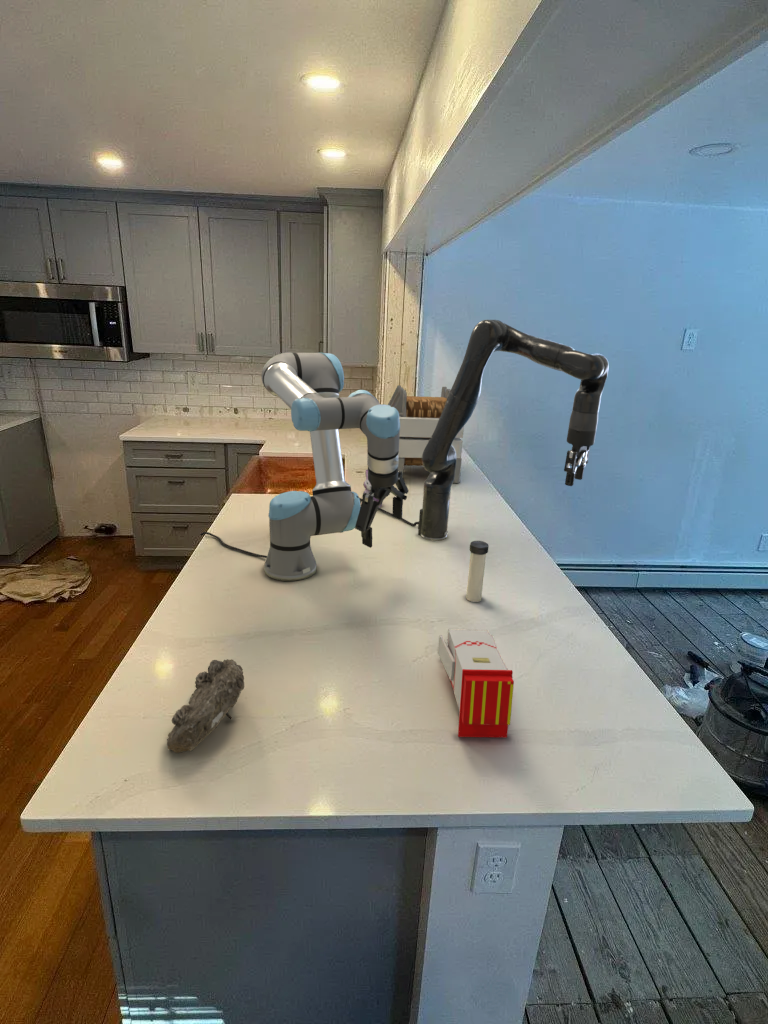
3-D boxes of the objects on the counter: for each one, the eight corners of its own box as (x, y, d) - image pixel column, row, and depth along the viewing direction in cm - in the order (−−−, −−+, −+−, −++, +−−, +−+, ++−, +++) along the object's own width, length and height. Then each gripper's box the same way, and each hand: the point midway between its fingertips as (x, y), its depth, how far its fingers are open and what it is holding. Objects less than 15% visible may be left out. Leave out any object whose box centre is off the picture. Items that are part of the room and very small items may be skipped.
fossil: (192, 660, 117) (244, 628, 112) (224, 691, 120) (276, 661, 115) (142, 746, 98) (202, 712, 93) (182, 779, 101) (242, 748, 96)
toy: (488, 613, 130) (523, 677, 101) (484, 667, 133) (517, 744, 104) (435, 612, 130) (455, 676, 101) (432, 666, 133) (451, 743, 103)
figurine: (367, 511, 220) (368, 474, 215) (356, 503, 228) (357, 467, 223) (388, 508, 224) (390, 471, 219) (377, 500, 233) (378, 465, 228)
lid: (465, 549, 153) (466, 542, 152) (478, 545, 156) (479, 539, 155) (478, 556, 149) (479, 549, 148) (491, 552, 152) (492, 545, 151)
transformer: (382, 463, 289) (386, 382, 275) (445, 464, 293) (451, 384, 279) (390, 482, 257) (394, 392, 243) (460, 483, 261) (468, 394, 247)
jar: (462, 597, 158) (468, 544, 152) (473, 593, 160) (479, 541, 155) (473, 603, 155) (479, 550, 149) (484, 599, 157) (490, 546, 152)
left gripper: (364, 498, 129) (365, 563, 142) (423, 448, 144) (419, 511, 158) (338, 486, 132) (342, 551, 146) (399, 438, 147) (397, 501, 161)
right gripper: (577, 422, 167) (568, 474, 173) (561, 428, 156) (552, 484, 162) (603, 425, 163) (593, 479, 169) (588, 433, 152) (578, 490, 158)
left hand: (382, 530), depth 152 cm, fingers open, 13 cm apart
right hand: (573, 482), depth 165 cm, fingers open, 8 cm apart
